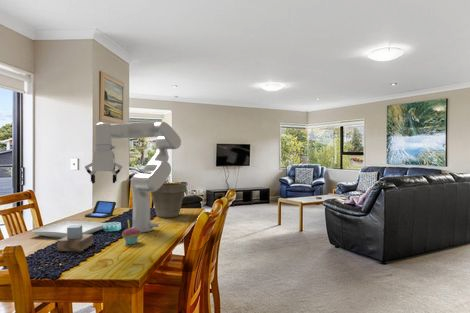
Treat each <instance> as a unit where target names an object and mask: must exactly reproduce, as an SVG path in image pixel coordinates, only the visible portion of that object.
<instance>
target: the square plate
mask: <svg viewBox="0 0 470 313" xmlns="http://www.w3.org/2000/svg"><path fill="white" fill-rule="evenodd" d="M106 223H107V222H99V221H98V222H97V221H87V220H86V221H84V220H66V221H62V222H58V223H54V224H50V225H47V226H43V227H41V228H37V229H33V230H31V233H33V234H34V235H35V236H36V235H37V236H42V237H43V236H44V237H47V238H59V239H61V238H63V237H65V236H67V228H68V227H69V226H71V225H82V234H93V233H95V232H98V231H101V230H103V229H104V228H103V224H106Z"/></svg>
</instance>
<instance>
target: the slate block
mask: <svg viewBox="0 0 470 313" xmlns="http://www.w3.org/2000/svg"><path fill="white" fill-rule="evenodd" d="M81 236H82V225H71V226H69V227H68V228H67V239H79V238H80V237H81Z"/></svg>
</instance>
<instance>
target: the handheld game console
mask: <svg viewBox="0 0 470 313" xmlns="http://www.w3.org/2000/svg"><path fill="white" fill-rule="evenodd" d="M116 206H117V202H116V201H107V200H106V201H105V200H97V201H96V203H95V205H94V208H93V211H92V212H91V213H87V214H85V215H84V217H85V218H95V219H107V218H110V217H113V215H114V214H113V213H114V210H115V207H116Z"/></svg>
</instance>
